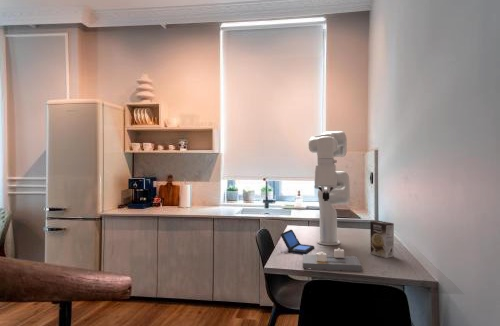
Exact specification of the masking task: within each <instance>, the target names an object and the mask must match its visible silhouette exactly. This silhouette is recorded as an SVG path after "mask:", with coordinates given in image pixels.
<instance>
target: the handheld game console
mask: <svg viewBox="0 0 500 326" xmlns="http://www.w3.org/2000/svg"><path fill="white" fill-rule="evenodd" d="M280 237H281V239H282V241H283V243H284V244H285V247H286V248H287V253H291V254H300V255H303V254H308V253H309V252H310V251H312V250H313V249H314V248H315V245H312V244H311V245H309V244H302V243H301V242H300V241H299V239H298V238H297V236H296V234H295V232H294V231H293V229H289V230H287V231H284V232H282V233H280Z"/></svg>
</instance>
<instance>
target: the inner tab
mask: <svg viewBox="0 0 500 326" xmlns="http://www.w3.org/2000/svg"><path fill="white" fill-rule="evenodd" d="M333 251H334V252H333V253H334V254H333V255H334V256H335V258H344V256H345V250H344V249H341V248H340V247H337V248H334V249H333Z"/></svg>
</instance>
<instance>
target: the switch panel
mask: <svg viewBox="0 0 500 326" xmlns="http://www.w3.org/2000/svg"><path fill="white" fill-rule="evenodd" d="M303 268H311V269H310V270H316V269H326V270H325V271H340V270H342V272H343V271H345V272H362V264H361V262H360V260H359V258H358V256H357V255H344V258H335V256H334V254H333V255H332V254H331V255H329V254H326V262H321V261H317V254H308V253H306V254H302V269H303Z"/></svg>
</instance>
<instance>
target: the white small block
mask: <svg viewBox="0 0 500 326" xmlns="http://www.w3.org/2000/svg"><path fill="white" fill-rule="evenodd" d="M316 255H317V261H321V262H326V255H327V253H326V252H323V251H320V252H316Z"/></svg>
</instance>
